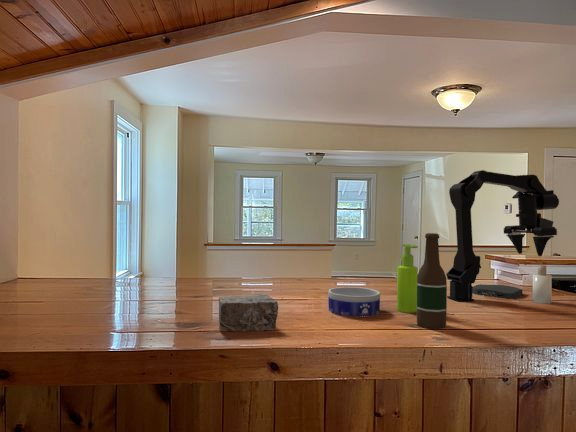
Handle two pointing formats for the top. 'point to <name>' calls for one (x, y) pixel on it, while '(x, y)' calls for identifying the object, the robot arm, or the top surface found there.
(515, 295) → the media streaming box
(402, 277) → the soap dispenser
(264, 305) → the stone block
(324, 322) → the top surface
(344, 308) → the dog bowl
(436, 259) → the beer bottle
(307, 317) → the top surface
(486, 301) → the top surface
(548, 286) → the bottle
